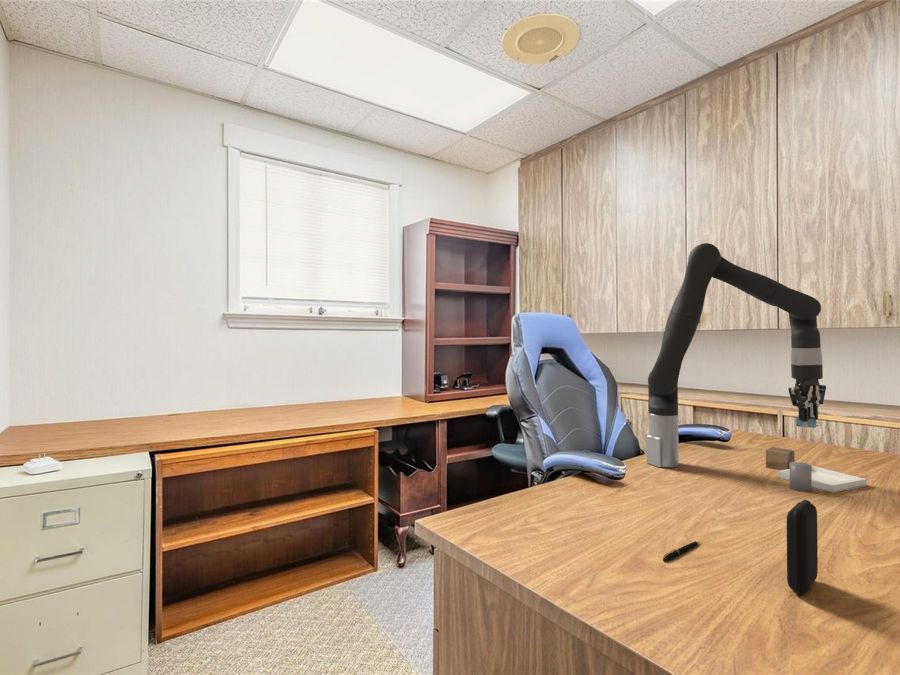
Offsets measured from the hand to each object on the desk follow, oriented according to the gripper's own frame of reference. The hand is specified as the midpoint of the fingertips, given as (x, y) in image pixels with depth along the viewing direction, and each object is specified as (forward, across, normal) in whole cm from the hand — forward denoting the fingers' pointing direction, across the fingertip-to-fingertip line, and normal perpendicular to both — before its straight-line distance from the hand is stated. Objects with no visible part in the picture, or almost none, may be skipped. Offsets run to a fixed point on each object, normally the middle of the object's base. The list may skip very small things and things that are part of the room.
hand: (808, 419), depth 139 cm
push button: (+2, 0, 0) cm, 2 cm away
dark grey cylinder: (+18, +11, +4) cm, 22 cm away
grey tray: (+18, -1, +2) cm, 18 cm away
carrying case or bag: (+18, +64, +38) cm, 76 cm away
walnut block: (+18, -4, -12) cm, 22 cm away
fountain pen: (+18, +73, +20) cm, 78 cm away
